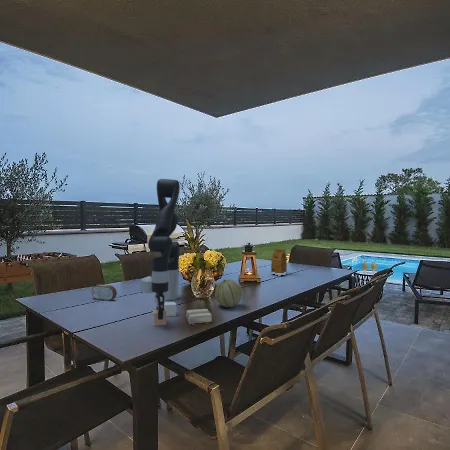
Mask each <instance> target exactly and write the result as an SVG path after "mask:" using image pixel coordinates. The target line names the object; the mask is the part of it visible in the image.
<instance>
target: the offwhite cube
mask: <svg viewBox="0 0 450 450" xmlns="http://www.w3.org/2000/svg"><path fill="white" fill-rule="evenodd" d="M164 302H165V301H164ZM164 309H165V310H166V317H177V303H176V302H175V301H166V302H165V305H164Z"/></svg>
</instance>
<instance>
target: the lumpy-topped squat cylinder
mask: <svg viewBox="0 0 450 450" xmlns="http://www.w3.org/2000/svg"><path fill="white" fill-rule="evenodd" d="M151 283H152V275H149V276H145V277H143V278H141V279H140V292H143V293H146V294H147V293H149V294H150V293H151V294H152V293H153V292H152V291H151Z"/></svg>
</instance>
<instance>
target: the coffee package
mask: <svg viewBox="0 0 450 450" xmlns="http://www.w3.org/2000/svg"><path fill="white" fill-rule="evenodd" d="M287 262H288V257H287V254H286V249H284V248H283V249H279V248H276V247H275V248H274V250H273V253H272V257H271V263H270V264H271V265H270V273H271V272H275V273H284V272H286V273H287V272H288V271H287V269H288V268H287V267H288V266H287V264H288V263H287Z"/></svg>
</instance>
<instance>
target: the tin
mask: <svg viewBox="0 0 450 450" xmlns="http://www.w3.org/2000/svg"><path fill="white" fill-rule="evenodd" d="M117 294H118V293H117V289H116V287H114V286H113V285H111V284H103V283H98V284H96V285H93V287H92V288H91V296H92V297H93V298H94V299H95V300H99V301H100V300H101V301H112V300H114V299H115V298H116V297H117Z"/></svg>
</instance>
